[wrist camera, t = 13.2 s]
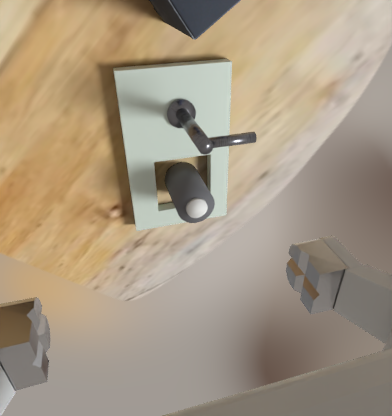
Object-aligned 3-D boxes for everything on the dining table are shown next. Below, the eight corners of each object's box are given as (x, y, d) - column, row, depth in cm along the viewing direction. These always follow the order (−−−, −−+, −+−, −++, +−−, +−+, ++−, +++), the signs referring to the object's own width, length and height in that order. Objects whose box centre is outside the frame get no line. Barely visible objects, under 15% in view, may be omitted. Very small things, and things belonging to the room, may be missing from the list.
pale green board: (135, 224, 48) (136, 230, 46) (113, 67, 36) (114, 71, 35) (222, 209, 50) (226, 214, 49) (227, 58, 39) (231, 61, 38)
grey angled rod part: (167, 128, 40) (189, 165, 32) (165, 100, 38) (188, 132, 31) (223, 121, 41) (256, 156, 34) (223, 94, 40) (259, 123, 32)
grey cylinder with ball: (163, 164, 44) (177, 195, 38) (197, 160, 45) (216, 189, 39) (165, 195, 47) (179, 228, 41) (198, 189, 47) (215, 221, 41)
